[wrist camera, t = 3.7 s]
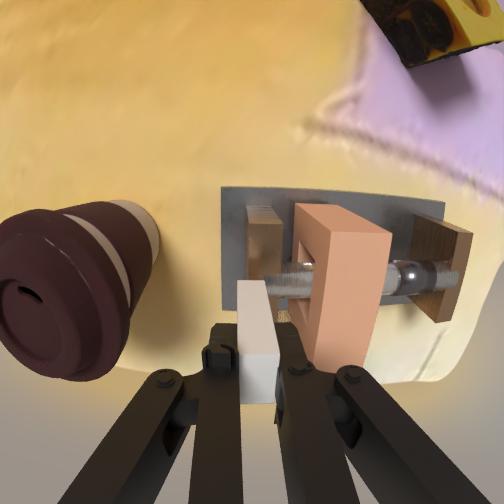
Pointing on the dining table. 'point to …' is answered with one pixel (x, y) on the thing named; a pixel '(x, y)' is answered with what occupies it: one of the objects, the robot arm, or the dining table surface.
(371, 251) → the collar
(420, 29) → the candle
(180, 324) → the dining table surface
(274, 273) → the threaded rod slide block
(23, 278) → the coffee cup
